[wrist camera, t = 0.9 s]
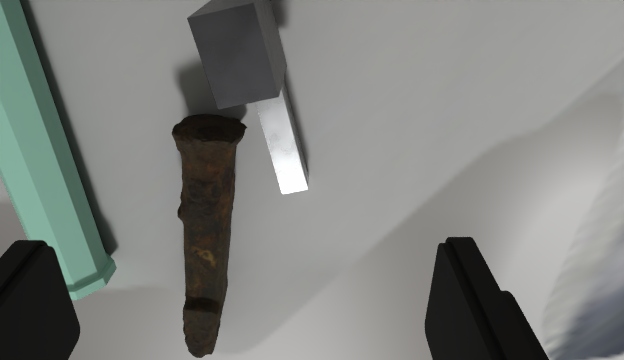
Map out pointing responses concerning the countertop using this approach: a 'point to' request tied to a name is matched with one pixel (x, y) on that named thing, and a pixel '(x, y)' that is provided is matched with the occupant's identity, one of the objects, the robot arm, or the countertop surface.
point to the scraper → (252, 76)
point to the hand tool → (206, 221)
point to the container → (44, 162)
